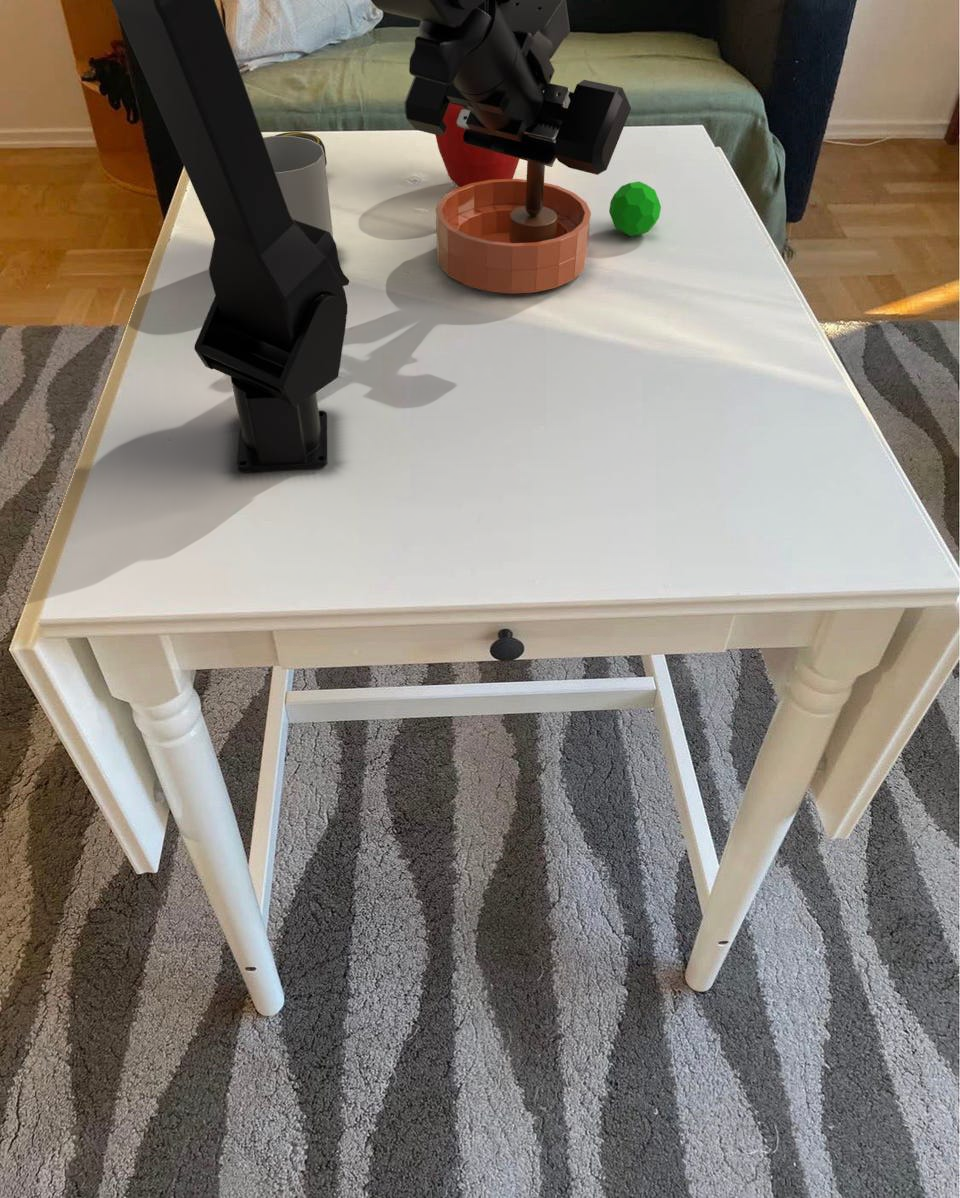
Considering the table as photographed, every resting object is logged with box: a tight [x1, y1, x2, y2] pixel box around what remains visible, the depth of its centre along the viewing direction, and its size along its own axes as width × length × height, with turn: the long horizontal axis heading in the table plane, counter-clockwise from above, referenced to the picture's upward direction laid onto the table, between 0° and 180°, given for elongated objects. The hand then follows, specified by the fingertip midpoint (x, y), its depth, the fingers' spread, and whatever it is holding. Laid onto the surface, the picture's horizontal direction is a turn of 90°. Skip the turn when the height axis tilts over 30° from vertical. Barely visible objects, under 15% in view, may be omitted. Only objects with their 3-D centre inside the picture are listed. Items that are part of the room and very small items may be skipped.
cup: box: [263, 135, 334, 238], centre depth 88 cm, size 8×8×10 cm
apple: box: [434, 103, 520, 188], centre depth 99 cm, size 10×10×11 cm
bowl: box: [435, 178, 592, 294], centre depth 90 cm, size 14×14×5 cm
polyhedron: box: [608, 181, 662, 237], centre depth 95 cm, size 5×5×5 cm
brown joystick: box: [509, 135, 557, 243], centre depth 85 cm, size 4×4×14 cm
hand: (543, 158), depth 86 cm, fingers closed on brown joystick, 2 cm apart
